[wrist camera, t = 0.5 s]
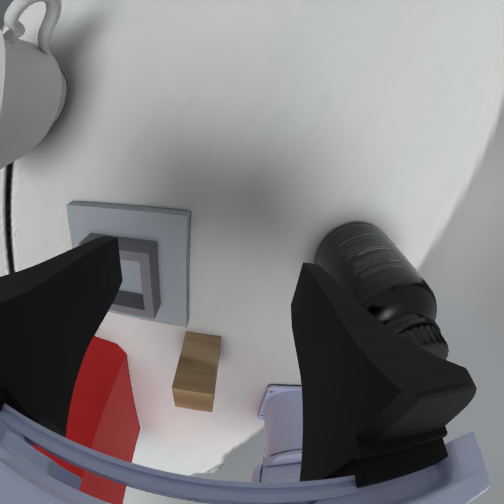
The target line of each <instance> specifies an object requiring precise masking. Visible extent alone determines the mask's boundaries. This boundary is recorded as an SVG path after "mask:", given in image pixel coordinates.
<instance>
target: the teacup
mask: <svg viewBox="0 0 504 504" xmlns="http://www.w3.org/2000/svg"><path fill="white" fill-rule="evenodd" d="M39 1H43V2H45V3H46V13H45V17H44V19H43V22H42V24H41V27H40V29H39V33H38V44H39V46H38V45H36V44H33V43H30V42H27V41H23V40H20V39H18V38H19V37H21V36H22V35H23V34H24V33H25V28H24V26H23V24H22V23H20V22H19V21H18V20H19V17H20V15H21V14H22V13H23V11H24V10H25V9H26V8H27V7H28V6H30V5H31V4H33V3H35V2H39ZM61 4H62V3H61V0H14V1H13V2H12V3H11V5H10V6H9V7H8V9H7V11H6V13H5V17H4V22H5V24H6V26H7V27H8V28H9V30H8V31H6V32H5V33H4V34H2V32H1V30H0V169H2V168H3V167H5V166H7V165H8V164H10V163H12V162H14V161H15V160H17V159H19V158H20V157H22V156H23V155H25V154H26V153H28V152H29V151H31V150H32V149H33V148H34V147H35V146H37V145H38V144H39V143H40V141H41V140H42V139H43V138H44V137H45V135H46V134H47V132H48V131H49V129H50V127H51V125H52V124H53V123H54V122H55V121H56V120H57V118H58V117H59V115H60V114H61V112H62V109H63V107H64V103H65V99H66V93H67V86H66V80H65V77H64V75H63V74H62V72H61V71H60V68H59V65H58V63H57V61H56V59H55V58H54V57H53V55H52V54H51V53H50V50H49V40H50V37H51V34H52V32H53V30H54V28H55V26H56V24H57V22H58V19H59V17H60V13H61Z"/></svg>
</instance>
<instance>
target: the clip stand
mask: <svg viewBox="0 0 504 504" xmlns="http://www.w3.org/2000/svg"><path fill="white" fill-rule="evenodd" d="M67 213H68V220H69V227H70V234H71V240H72V245H73V248H75V247H77V246H80V245H82V244H84V243H86V242H89V241H91V240H93V239H96V238H99V237H102V236H112V237H118V244H119V254H120V263H121V271H122V278H123V281H122V284H121V286H120V288H119V291H118V293H117V295H116V298H115V300H114V302H113V304H112V305H111V307H110V309H109V310H108V312H112V313H116V314H121V315H125V316H130V317H135V318H140V319H145V320H150V321H155V322H161V323H166V324H172V325H178V326H184V327H187V324H188V320H189V312H188V274H189V234H190V211H182V210H173V209H163V208H153V207H143V206H132V205H120V204H108V203H95V202H81V201H72V202H70V203H69V204H67Z"/></svg>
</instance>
